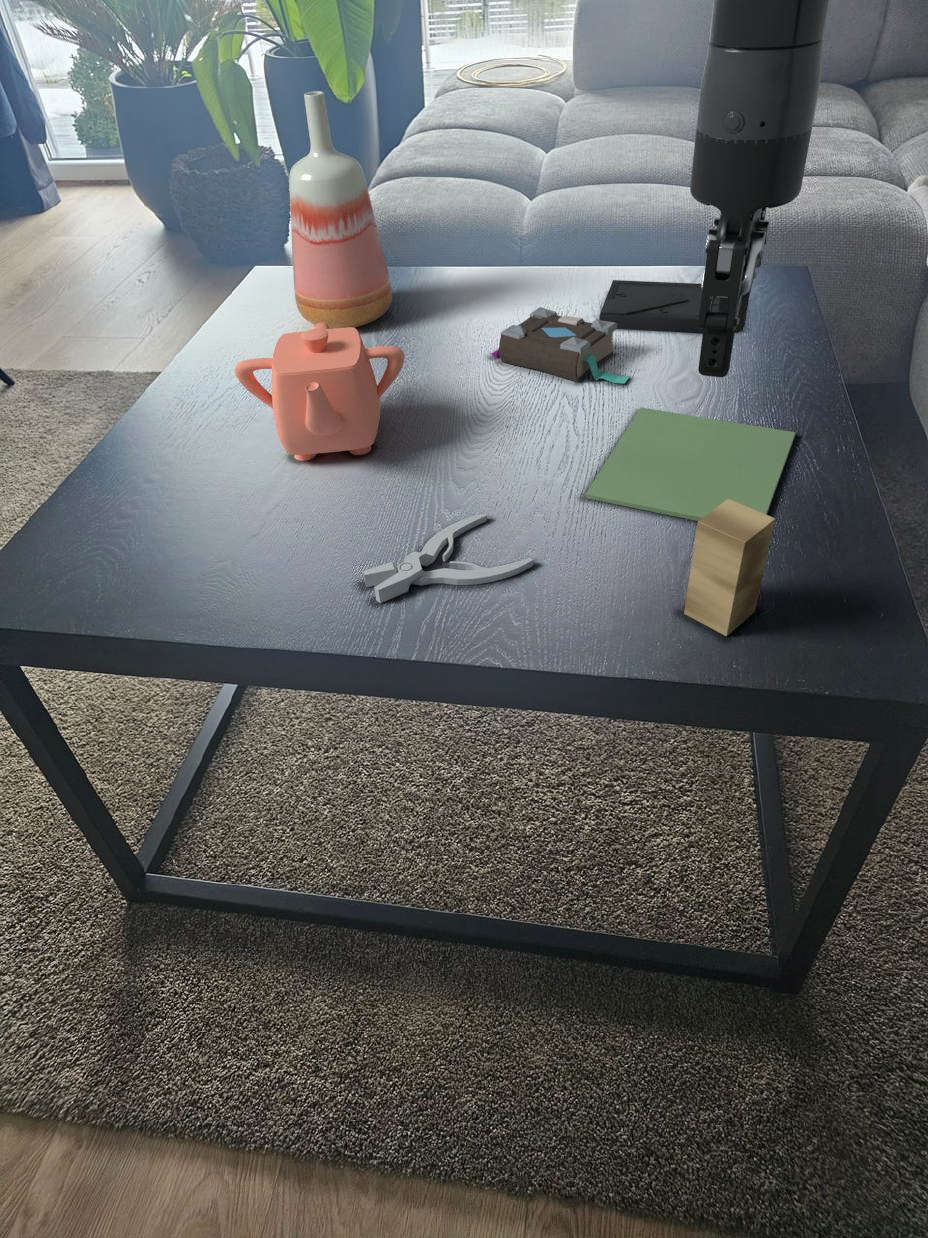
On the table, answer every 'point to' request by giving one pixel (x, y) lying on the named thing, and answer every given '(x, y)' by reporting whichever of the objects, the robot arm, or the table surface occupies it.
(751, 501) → the mat
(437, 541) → the pliers
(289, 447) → the teapot
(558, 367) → the book
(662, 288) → the picture frame
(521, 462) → the table surface
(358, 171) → the vase
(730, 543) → the block
